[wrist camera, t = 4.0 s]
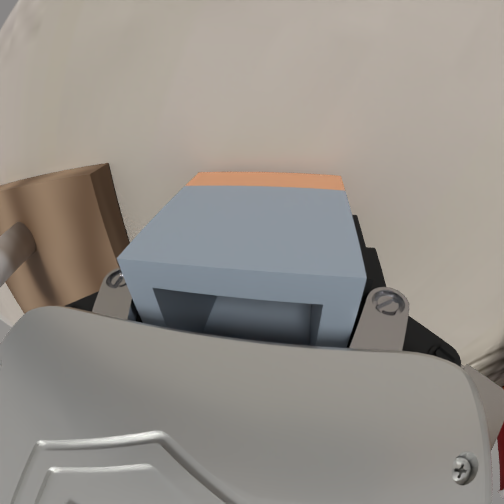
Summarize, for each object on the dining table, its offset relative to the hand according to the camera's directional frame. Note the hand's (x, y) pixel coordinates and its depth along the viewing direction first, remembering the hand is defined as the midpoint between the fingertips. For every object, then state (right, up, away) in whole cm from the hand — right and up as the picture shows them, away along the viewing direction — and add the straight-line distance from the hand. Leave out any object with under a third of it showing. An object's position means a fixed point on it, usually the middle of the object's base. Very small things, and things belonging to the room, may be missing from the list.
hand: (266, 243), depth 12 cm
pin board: (-15, -3, +6) cm, 17 cm away
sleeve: (0, 0, +1) cm, 1 cm away
